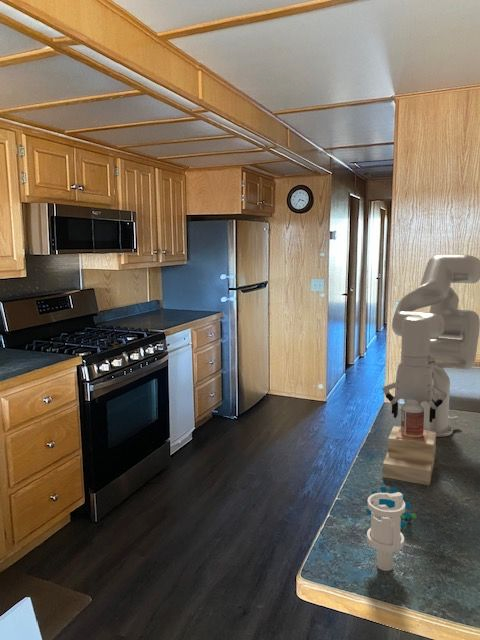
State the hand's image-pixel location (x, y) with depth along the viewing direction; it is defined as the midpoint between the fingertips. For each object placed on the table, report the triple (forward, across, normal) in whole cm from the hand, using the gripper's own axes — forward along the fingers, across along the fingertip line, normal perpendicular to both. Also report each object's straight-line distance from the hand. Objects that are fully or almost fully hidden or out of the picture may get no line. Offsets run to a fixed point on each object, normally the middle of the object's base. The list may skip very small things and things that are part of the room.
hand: (413, 418), depth 140 cm
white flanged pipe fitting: (+13, -1, +50) cm, 52 cm away
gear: (+13, +1, +35) cm, 37 cm away
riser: (+13, 0, +4) cm, 14 cm away
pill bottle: (+5, 0, 0) cm, 5 cm away
